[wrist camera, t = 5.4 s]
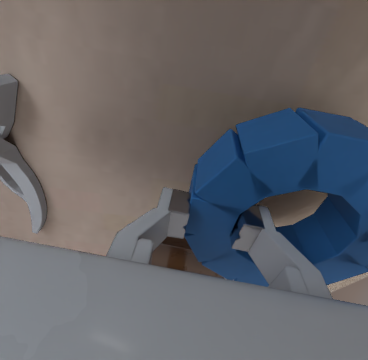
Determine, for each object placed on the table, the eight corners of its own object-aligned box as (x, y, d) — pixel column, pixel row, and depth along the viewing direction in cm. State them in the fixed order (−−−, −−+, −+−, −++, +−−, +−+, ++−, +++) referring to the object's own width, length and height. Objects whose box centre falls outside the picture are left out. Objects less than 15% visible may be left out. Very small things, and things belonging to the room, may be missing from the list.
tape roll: (211, 90, 9) (211, 110, 7) (434, 133, 9) (515, 168, 7) (179, 234, 15) (173, 271, 13) (312, 259, 15) (331, 301, 13)
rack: (134, 224, 20) (29, 484, 8) (234, 245, 20) (267, 527, 8) (131, 277, 25) (67, 472, 14) (208, 292, 26) (207, 497, 14)
